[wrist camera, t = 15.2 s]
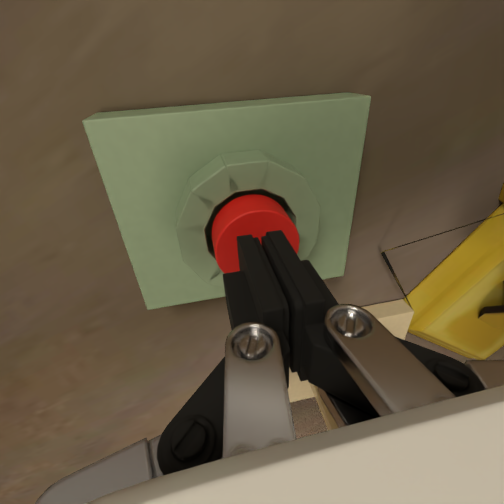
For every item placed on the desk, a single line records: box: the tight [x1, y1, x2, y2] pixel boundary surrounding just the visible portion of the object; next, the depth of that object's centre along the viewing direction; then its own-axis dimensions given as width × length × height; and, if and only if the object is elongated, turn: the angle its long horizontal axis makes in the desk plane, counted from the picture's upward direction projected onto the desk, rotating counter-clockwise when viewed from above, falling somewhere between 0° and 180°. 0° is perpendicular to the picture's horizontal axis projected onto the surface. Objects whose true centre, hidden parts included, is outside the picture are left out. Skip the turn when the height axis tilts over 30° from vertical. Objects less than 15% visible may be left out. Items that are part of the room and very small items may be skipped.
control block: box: [83, 92, 371, 310], centre depth 15 cm, size 12×10×4 cm
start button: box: [211, 194, 299, 273], centre depth 13 cm, size 4×4×2 cm
